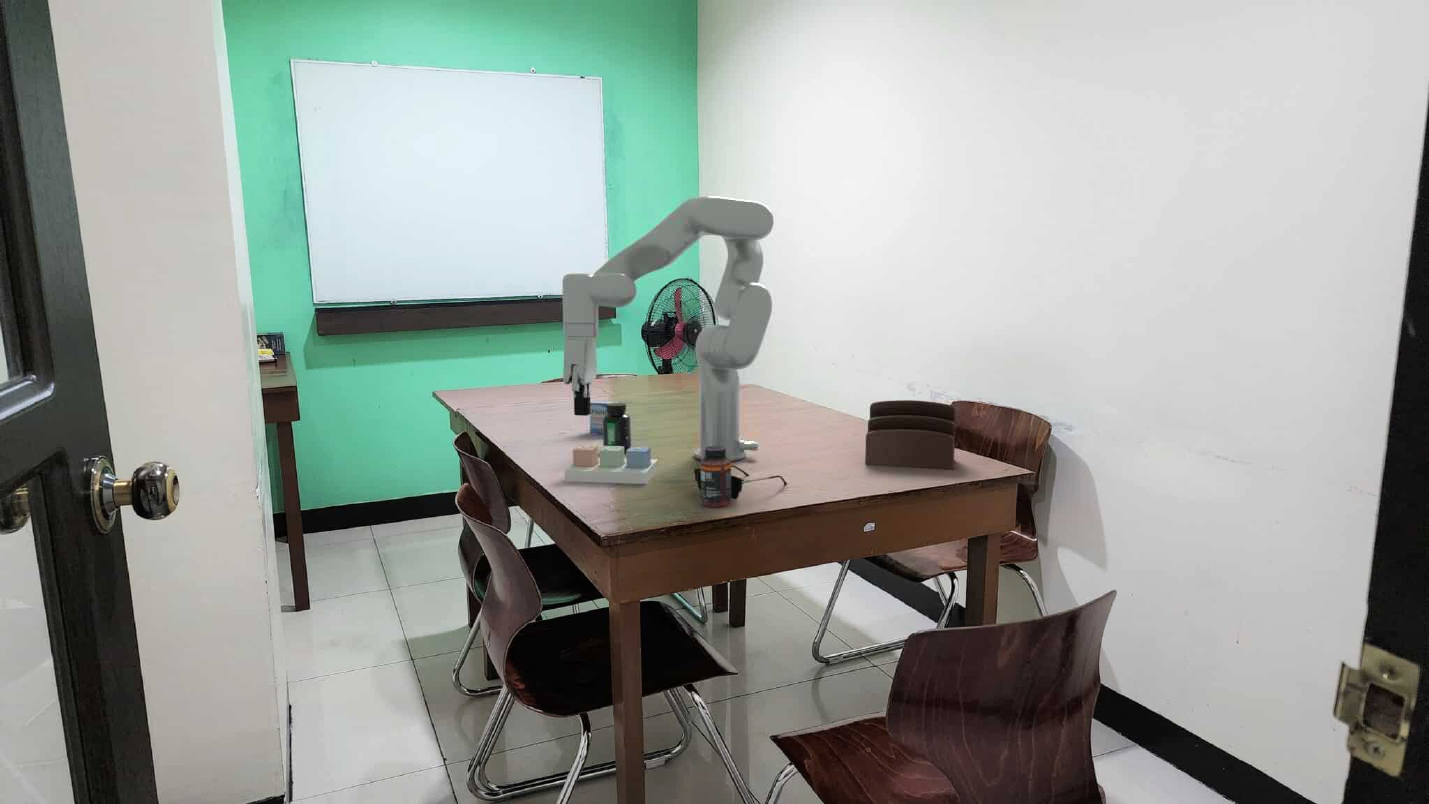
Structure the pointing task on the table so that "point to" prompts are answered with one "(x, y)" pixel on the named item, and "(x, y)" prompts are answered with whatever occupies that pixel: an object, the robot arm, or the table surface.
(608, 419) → the supplement bottle
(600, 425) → the medicine box
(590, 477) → the board
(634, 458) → the blue pull-out drawer
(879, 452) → the letter holder
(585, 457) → the pink three-dot die
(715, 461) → the supplement bottle
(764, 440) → the table surface
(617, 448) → the pale green cube
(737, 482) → the sunglasses
